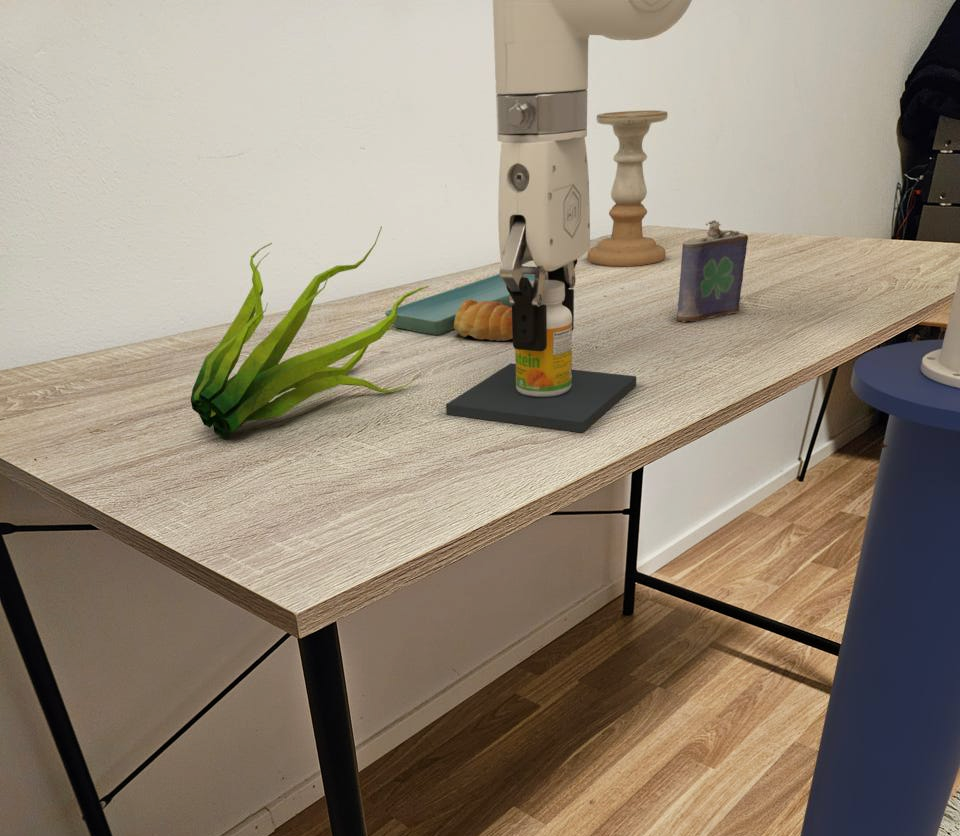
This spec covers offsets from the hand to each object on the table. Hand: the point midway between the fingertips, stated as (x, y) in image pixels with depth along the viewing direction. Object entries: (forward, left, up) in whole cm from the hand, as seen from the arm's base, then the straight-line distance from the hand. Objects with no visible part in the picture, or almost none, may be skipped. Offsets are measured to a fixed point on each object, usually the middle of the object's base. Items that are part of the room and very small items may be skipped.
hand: (543, 338), depth 84 cm
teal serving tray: (+23, -30, -6) cm, 39 cm away
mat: (0, 0, -6) cm, 6 cm away
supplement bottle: (0, 0, -5) cm, 5 cm away
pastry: (+16, -20, -6) cm, 26 cm away
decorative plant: (+23, +6, -6) cm, 25 cm away
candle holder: (+16, -67, -6) cm, 69 cm away
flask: (-6, -36, -6) cm, 37 cm away
